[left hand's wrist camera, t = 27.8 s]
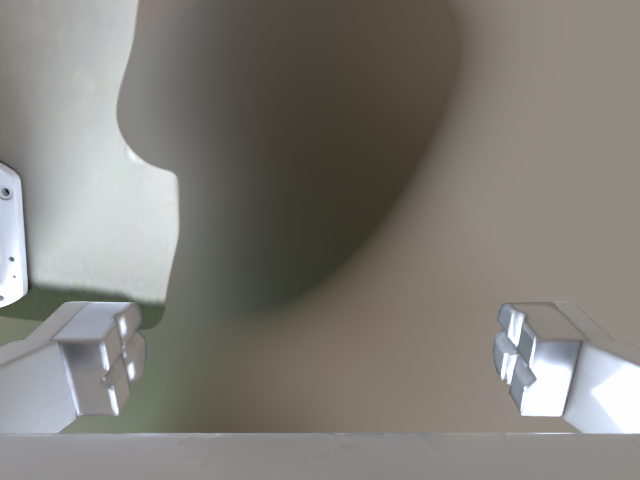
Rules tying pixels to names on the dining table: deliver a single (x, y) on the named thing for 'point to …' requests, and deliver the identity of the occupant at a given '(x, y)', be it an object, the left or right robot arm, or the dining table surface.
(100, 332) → the left robot arm
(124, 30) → the dining table surface
